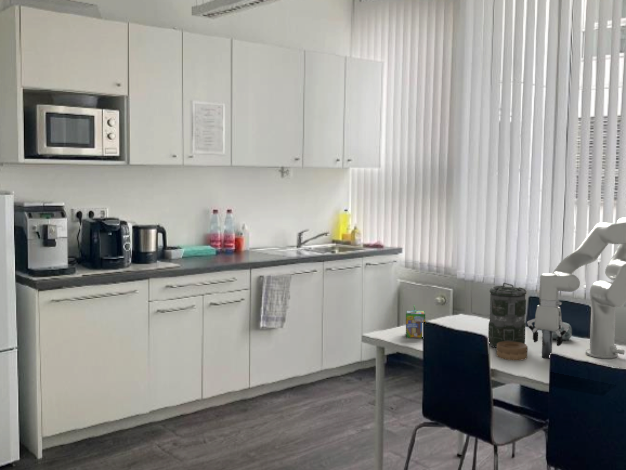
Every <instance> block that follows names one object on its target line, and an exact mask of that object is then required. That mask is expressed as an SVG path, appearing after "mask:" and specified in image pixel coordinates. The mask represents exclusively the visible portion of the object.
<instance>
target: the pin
mask: <svg viewBox="0 0 626 470" xmlns="http://www.w3.org/2000/svg"><path fill="white" fill-rule="evenodd" d="M541 334H542V339H541V340H542V341H541V359H542V358H543V359H548V360H549V359H550V358H549V355H550V353H552V354H553V339H552V336H553V331H549V330H543V333H542V332H541Z"/></svg>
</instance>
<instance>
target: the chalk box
mask: <svg viewBox="0 0 626 470" xmlns="http://www.w3.org/2000/svg"><path fill="white" fill-rule="evenodd" d="M412 305H413V309H414V310H408V309H407V310H406V312H405V338H406V339H407V338H408V339H413V338H416V339H423V338H422V323H423V322H425V323H426V310H416V306H415V304H412Z"/></svg>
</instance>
